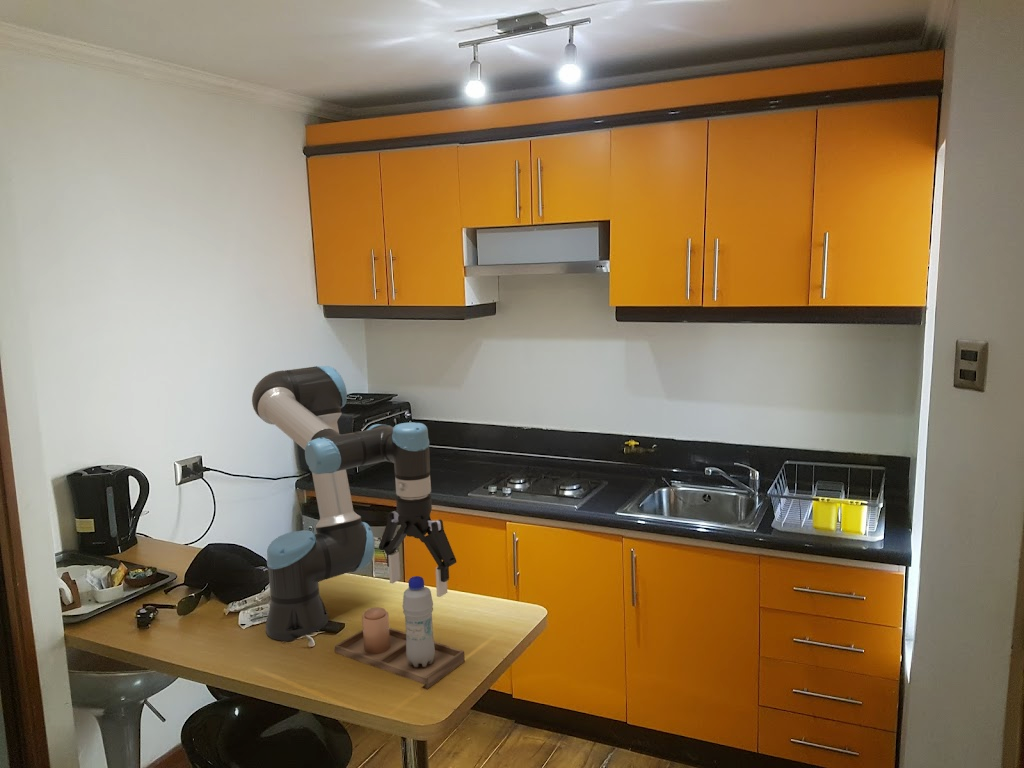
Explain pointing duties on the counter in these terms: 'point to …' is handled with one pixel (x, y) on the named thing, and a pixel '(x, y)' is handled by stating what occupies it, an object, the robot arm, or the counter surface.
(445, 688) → the counter surface
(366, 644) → the jar
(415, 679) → the caddy
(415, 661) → the bottle
